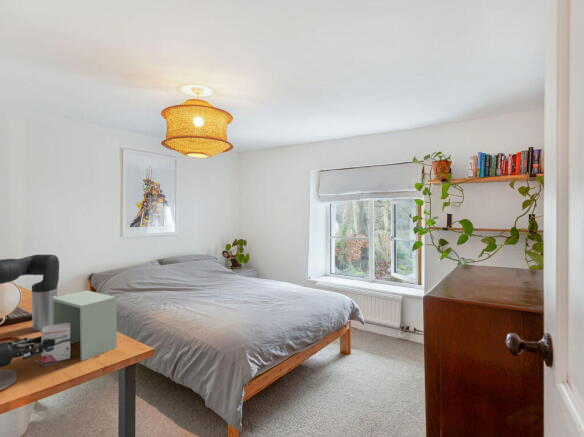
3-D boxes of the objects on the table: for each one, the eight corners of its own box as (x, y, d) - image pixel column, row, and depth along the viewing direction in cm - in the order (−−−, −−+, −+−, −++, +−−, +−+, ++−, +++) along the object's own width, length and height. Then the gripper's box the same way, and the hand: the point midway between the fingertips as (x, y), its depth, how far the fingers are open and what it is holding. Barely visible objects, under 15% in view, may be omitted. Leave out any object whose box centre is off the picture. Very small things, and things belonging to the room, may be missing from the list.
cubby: (53, 348, 126) (52, 297, 125) (87, 337, 137) (86, 290, 136) (82, 361, 116) (81, 305, 115) (116, 347, 127) (116, 297, 127)
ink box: (40, 364, 112) (40, 330, 112) (42, 358, 117) (42, 326, 116) (70, 358, 117) (70, 326, 117) (70, 353, 121) (70, 322, 121)
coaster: (35, 362, 115) (35, 360, 115) (57, 354, 121) (57, 353, 121) (45, 366, 112) (45, 365, 112) (67, 358, 118) (67, 357, 118)
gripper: (-2, 352, 97) (60, 333, 112) (-22, 342, 104) (39, 325, 119) (-2, 376, 98) (60, 355, 112) (-21, 365, 105) (39, 346, 119)
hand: (49, 340), depth 116 cm, fingers closed on ink box, 6 cm apart
